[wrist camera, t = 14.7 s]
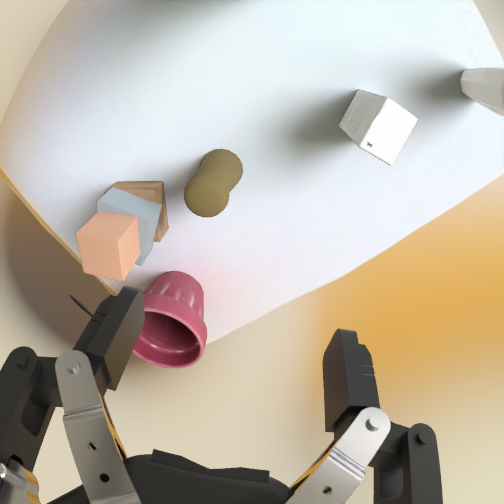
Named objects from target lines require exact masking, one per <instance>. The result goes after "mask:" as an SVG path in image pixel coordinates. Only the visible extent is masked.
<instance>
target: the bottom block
mask: <svg viewBox="0 0 504 504" xmlns="http://www.w3.org/2000/svg"><path fill="white" fill-rule="evenodd" d="M112 187H114V188H117V189H119V190H122V191H125V192H128V193H131V194H133V195H136V196H139V197H142V198H144V199H147V200H150V201H153V202H155V203H158V204H161V205H162V207H161V211H160V215H159V219H158V224H157V228H156V233H155V237H154V242H160V241H161V239H162V237H163V236H164V234H165V233H166V231H167V230H168V228H169V227H168V219H167V211H166V202H165V193H164V184H163V181H122V182H116V183H115V184H114V185H113V186H111V187H110V188H109V189H108V190H107V191H106V192H104V193H107V192H108V191H109V190H110V189H111V188H112Z"/></svg>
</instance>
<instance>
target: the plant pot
mask: <svg viewBox="0 0 504 504" xmlns="http://www.w3.org/2000/svg"><path fill="white" fill-rule="evenodd" d="M143 301H144V312H145V320H144V325H143V328H142V331H141V333H140V335H139V337H138V340H137V342H136V344H135V346H134V349H133V351H132V352H133V353H134V354H136V355H137V356H138V357H140V358H141V359H143V360H145V361H147V362H149V363H152V364H154V365H157V366H161V367H166V368H185V367H188V366H191V365H193V364H195V363H196V362H198V361H199V360H200V358H201V357H202V354H203V351H204V347H205V344H206V339H207V328H206V325H205V323H204V321H203V318H204V305H203V290H202V287H201V285H200V284H199V283H198V282H197V281H196V280H195V279H194V278H193V277H191V276H190V275H188V274H185V273H182V272H177V271H171V272H167V273H164V274H163V275H161V276H160V277H159V278H158V279H157V280H156V281H155V282H154V283H153V284H152V285H151V286H150V287H149V288H148V289H147V290H146V291H145V292H144V293H143Z"/></svg>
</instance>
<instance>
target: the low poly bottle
mask: <svg viewBox="0 0 504 504" xmlns="http://www.w3.org/2000/svg"><path fill="white" fill-rule="evenodd" d="M460 83H461V89H462V92H463V93H464V94H465V95H467V96H468V97H469V98H471V99H472V100H474V101H476V102H478V103H480V104H481V105H483V106H485V107H487V108H488V109H490V110H492V111H494V112H495V113H497V114H500V115H502V116H504V68H478V69H467V70H464V71H463V73H462V76H461V78H460Z"/></svg>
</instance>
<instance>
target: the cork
mask: <svg viewBox="0 0 504 504" xmlns="http://www.w3.org/2000/svg"><path fill="white" fill-rule="evenodd" d="M242 173H243V168H242V164H241V161H240V159H239V158H238V157H237V156H236V155H235V154H234V153H232V152H231V151H229V150H225V149H216V150H213V151H211V152H209V153H208V154H207V155H205V157H204V158H203V160H202V162H201V165H200V168H199V170H198V173H197V175H196V176H194V177H193V178H192V179H190V180H189V182H188V183H187V185H186V187H185V191H184V200H185V203H186V205H187V207H188V208H189V209H190V210H191V211H192V212H193V213H194V214H196V215H198V216H201V217H213V216H216V215H218V214H219V213H220V212H222V211H223V210H224V209H225V207H226V206H227V203H228V200H229V192H230V191H231V190H232V189H233V188H234V187H235V185H236V184H237V183H238V182H239V180H240V179H241V176H242Z"/></svg>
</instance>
